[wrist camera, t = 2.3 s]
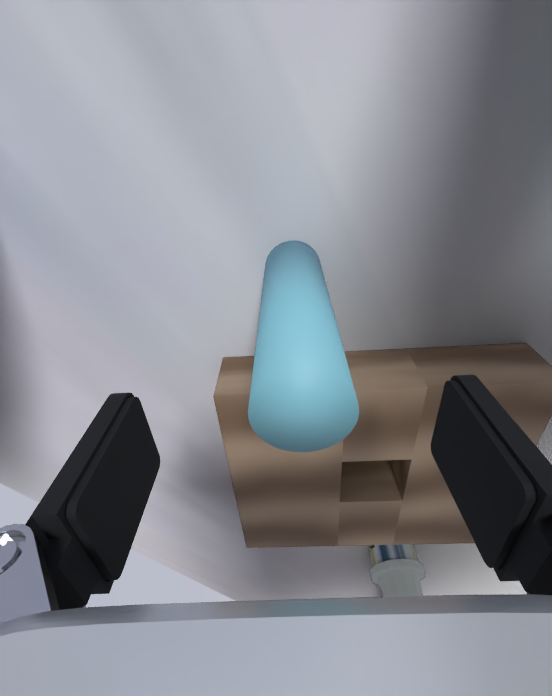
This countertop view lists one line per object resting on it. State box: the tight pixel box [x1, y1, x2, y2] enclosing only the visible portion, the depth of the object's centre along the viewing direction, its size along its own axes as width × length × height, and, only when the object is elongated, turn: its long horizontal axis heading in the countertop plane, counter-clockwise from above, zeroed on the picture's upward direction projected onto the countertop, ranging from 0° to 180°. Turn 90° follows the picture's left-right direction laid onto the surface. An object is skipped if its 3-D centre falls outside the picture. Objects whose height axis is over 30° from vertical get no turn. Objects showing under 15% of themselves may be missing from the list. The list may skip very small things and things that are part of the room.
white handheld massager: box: [369, 544, 425, 597], centre depth 40 cm, size 5×7×25 cm
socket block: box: [213, 343, 552, 548], centre depth 26 cm, size 17×20×4 cm
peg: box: [248, 241, 359, 452], centre depth 15 cm, size 3×3×12 cm
